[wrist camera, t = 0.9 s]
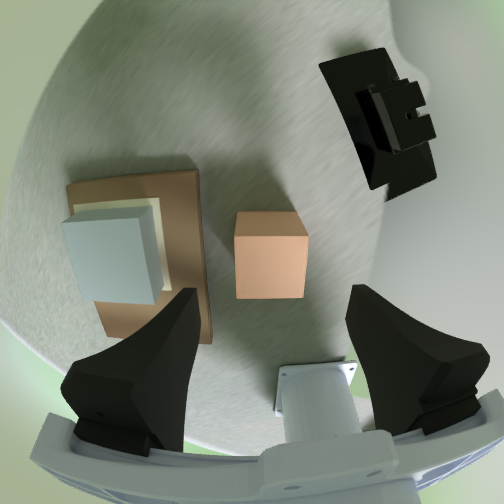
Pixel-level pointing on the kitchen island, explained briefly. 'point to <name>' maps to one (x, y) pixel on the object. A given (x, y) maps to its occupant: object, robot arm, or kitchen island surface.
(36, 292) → the kitchen island surface
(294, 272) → the top block
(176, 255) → the build board
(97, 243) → the base block
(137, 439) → the robot arm
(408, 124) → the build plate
